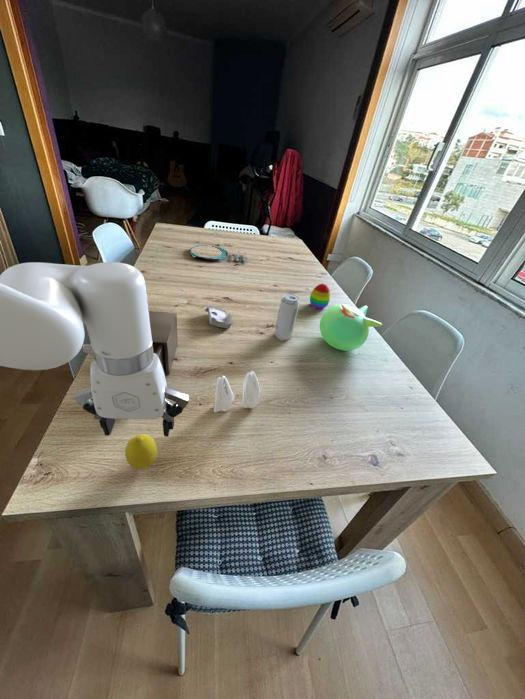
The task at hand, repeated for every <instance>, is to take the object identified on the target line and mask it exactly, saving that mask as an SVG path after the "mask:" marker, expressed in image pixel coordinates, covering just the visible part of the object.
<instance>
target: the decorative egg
mask: <svg viewBox="0 0 525 699" xmlns="http://www.w3.org/2000/svg"><path fill="white" fill-rule="evenodd" d="M330 300H331V291H330V288H329V286H328V285H327V284H325V283H319V284H318V285H316V286H315V287H314V288H313V289H312V291H311V293H310V296H309V302H310V305H311V307H312V308H314V309H316V310H323V309H325V308H326V307H327V306H328V305H329V303H330Z"/></svg>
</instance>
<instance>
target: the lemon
mask: <svg viewBox="0 0 525 699" xmlns="http://www.w3.org/2000/svg"><path fill="white" fill-rule="evenodd" d="M124 453H125V454H124V455H125V460H126V462H127V463H128V465H129V466H130V467H132V468H133V469H137V470H144V469H146V468H147V469H148V468H149V467H150V466H151V465H152V464H153V463H154V462H155V460H156V458H157V455H158V446H157V443H156V441H155V440H154V438H153V437H152V436H151V435H148V434H146V433H142V434H141V433H140V434H137V435H134V436H133V437H131V438H130V440H128V442H127V444H126V447H125V452H124Z"/></svg>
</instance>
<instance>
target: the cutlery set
mask: <svg viewBox="0 0 525 699" xmlns="http://www.w3.org/2000/svg"><path fill="white" fill-rule="evenodd" d="M199 246H204V244H199V245H193V246H192V247H191V248H190V249H189V253H190V256H191V255H193V256H195V258H199V259H203V260H212V261H213V260H215V261H216V260H219V261H222V259H223V260H226V259H227V257H228V256H229V252H228V251H227V249H225V248H223V247H221V246H215V245H214V246H213V245H211V246H212V247H215V248H217V249H219V250H220V251H221V252H222V253H221V255H220V256H217V257H209V258H208V257H207V258H205V257H204V258H203V257H201V256H200V257H199V255H197V254H195V253H193V252H192V251H191V249H192V248H195V247H199ZM205 246H207V245H206V244H205ZM244 252H245V253H244V257H240V255H241V254H240V253H241V251H240V250H238V251H237V254H239V255H238V256H237V257H236V258H237V259H236V258H235V260H236V261H237V262H242V261H243V262H244V263H248V257H247V254H246V253H247V252H246V251H244ZM232 255H234V257H235V253H234V254H233V253H232V254H231V256H232ZM193 256H191V257H192V258H193V259H195V258H194V257H193ZM234 257H233V258H232V257H231V261H232V262H234ZM238 257H239V258H238ZM210 258H217V259H210Z"/></svg>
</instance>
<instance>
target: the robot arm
mask: <svg viewBox="0 0 525 699" xmlns="http://www.w3.org/2000/svg"><path fill="white" fill-rule="evenodd" d="M149 311H150V310H149V302H148V295H147V286H146V281H145V277H144V275H143V273H142V272H141V271H140V270H139V269H138V268H137V267H134V266H133V265H131V264H128V263H123V262H117V261H115V262H114V261H105V262H96V263H93V264H89V265H75V264H63V263H52V262H35V261H34V262H33V261H32V262H31V261H30V262H22V263H18V264H14V265H12V266H9V267H8V268H6V269H5V270H4V271H3V272H1V274H0V367H4V368H10V369H17V370H22V371H23V370H24V371H44V370H45V371H46V370H51V369H56V368H58V367H61V366H63V365H66V364H68V363H69V362H70V361H73V359H74V358H75V357H76V356H78V354H79V352H80V351H81V350H82V353H84V354H89V355H91V356H92V357H93V358H92V359H93V360H91V362H90V367H89V379H90V386H88V387H86V388H83V389H80V390H77V391H76V392H75V394H74V396H73V400H74V401H75V402H76V403H78V404H79V405H80V406H82V409H83V410H84V411H85V412H88V413H89V414H91V415H93V419H94V420H97V421H98V422H99V425H100V428H101V429H103V433H104V436H106V437H108V436H110V435H111V434H112V432H113V429H114V427H115V424H116V419H117V420H120V419H122V420H156V419H160V418H162V432H163V436H164V437H165V438H167V437H169V436H170V432H171V430H174V427H175V417H177V416H178V415H180V414H181V413H183V410H185V408H186V407H187V406H188V404H189V401H190V395H189V394H186V393H184V392H181V391H178V390H175V389H173V388H170V387H168V385H167V379H166V374H164V371H163V368H162V365H161V362H160V360H159V358H158V355H157V354H155V353H153V344H152V336H151V328H150V319H149ZM84 325H85V326H84ZM85 327H86V331H87V334H88V339H89V343H86V342H84V341H85V336H86V335H85ZM171 401H172V402H175V403H172V402H171Z"/></svg>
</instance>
